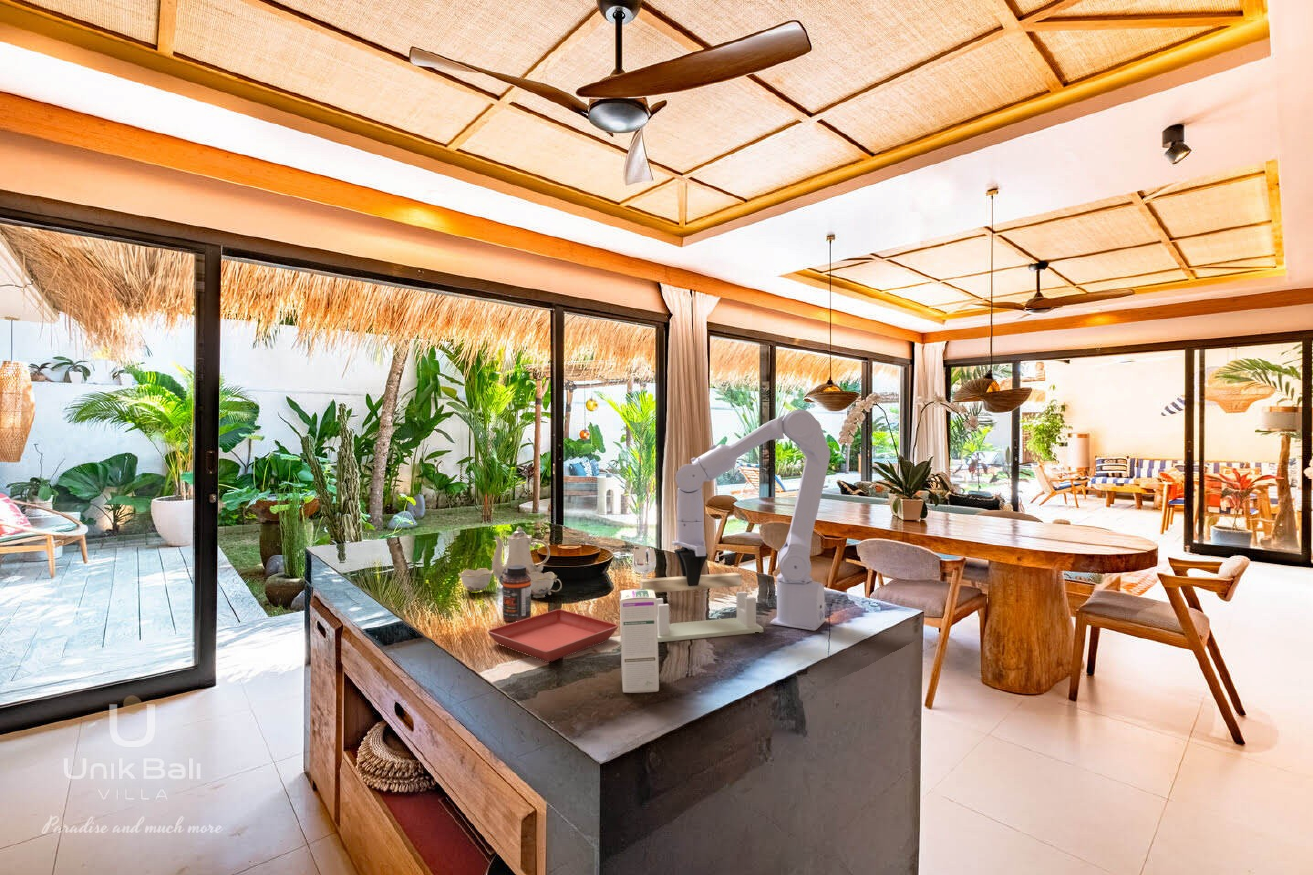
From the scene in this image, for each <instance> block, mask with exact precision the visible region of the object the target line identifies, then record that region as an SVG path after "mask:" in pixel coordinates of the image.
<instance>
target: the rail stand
mask: <svg viewBox="0 0 1313 875" xmlns="http://www.w3.org/2000/svg"><path fill="white" fill-rule="evenodd" d="M735 597H736V598H735V599H736V600H735V601H736V617H729V618H728V617H727V618H716V619H707V620H695V621H693V620H692V621H683V622H673V623H670V604H669V603H664V599H663V597H660V598H657V597H656V603H657V630H658V643H662V642H664V643H665V642H675V641H683V640H685V641H686V640H693V639H695V640H696V639H703V638H704V639H705V638H714V637H715V638H717V637H726V636H727V637H728V636H736V635H747V634H756V633H755V632H759V633H764V626H761V625H760V624H759V623H757V598H756V597H755V596H748V592H747V591H736V596H735Z"/></svg>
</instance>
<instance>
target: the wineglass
mask: <svg viewBox="0 0 1313 875" xmlns="http://www.w3.org/2000/svg"><path fill="white" fill-rule="evenodd" d="M631 560H632V568H633V570H634V571H635V572H636V573H638V574H640V575H642V578H641V579H647V575H649V574H652V572H653V571H654V570H656V566H657V557H656V552H655V549H654V547H653V546H647V545H646V546H645V545H644V546H643V545H641V546H635V547H634V549H633V554H632V558H631Z"/></svg>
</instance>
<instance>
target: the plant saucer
mask: <svg viewBox="0 0 1313 875" xmlns="http://www.w3.org/2000/svg"><path fill="white" fill-rule="evenodd" d="M618 628H619V624H616V623H613V622H609V621H607V620H606V621H605V620H602V619H598V618H595V617H592V616H588V615H584V614H580V613H577V612H572V611H568V610H565V609H559V608H558V609H553V610H551V611H547V612H544V613H541V614H537V615H534V616H531V617H530V618H527V619H523V620H520V621H517V622H509V623H507V624H504V625H501V626H498V627H494V628H491V629H489V630H487V633H488V635H489V636H490V637H491V639H493V640H494V641H495V642H496V643H497V644H498V643H499V644H501V645H504V646H506V647H509V648H512V649H514V650H513V651H515V650H517V651H516V652H518V651H519V652H518V653H520V652H523V653H526V654H528V655H527V656H529V655H531V656H533V657H532V658H534V657H536V658H535V659H537V658H538V660H540V659H541V660H540V661H542V660H544V661H543V662H545V661H546V662H545V663H551V662H554V661H557V660H559V658H560V659H562V658H564V657H567V655H568V656H570V655H572V653H573V654H575V652H576V653H577V652H581V651H583V650H587V649H590V648H591V647H594V646H597V645H599V643H600V644H602V642H603V643H605V642H606V641H607V640H609V638H610V637H611V636H612V635H614V633H615V632H616V630H617V629H618ZM499 644H498V645H499ZM501 645H500V646H501ZM504 646H503V647H504ZM506 647H505V648H506ZM509 648H508V649H509ZM512 649H511V650H512ZM523 653H522V654H523ZM526 654H525V655H526ZM531 656H530V657H531ZM550 661H551V662H550Z"/></svg>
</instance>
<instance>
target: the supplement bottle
mask: <svg viewBox="0 0 1313 875" xmlns="http://www.w3.org/2000/svg"><path fill="white" fill-rule="evenodd" d="M507 573H508V574H507V576H506V577H505V578H504V579H503V586H502V619H503V620H504V621H506V622H508V621H514V622H516V621H520V620H523V619H527V618H530V617H532V616H531V615H532V594H531V578H530V577H529V576H528V575H527V574H526V566H525V565H512V566H509V567H508V568H507ZM514 622H513V623H514Z"/></svg>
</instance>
